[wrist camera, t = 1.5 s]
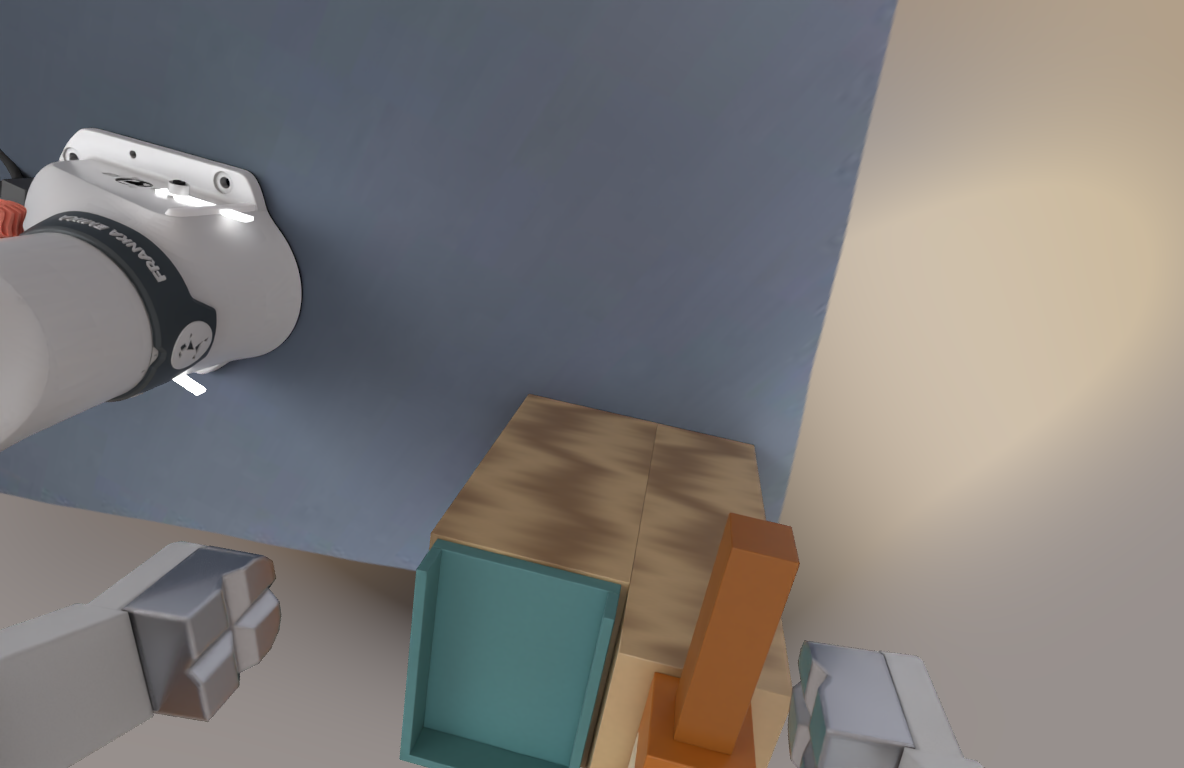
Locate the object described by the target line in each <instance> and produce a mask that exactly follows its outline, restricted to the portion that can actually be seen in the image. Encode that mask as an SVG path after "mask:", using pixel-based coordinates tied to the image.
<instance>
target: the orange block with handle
mask: <svg viewBox="0 0 1184 768" xmlns="http://www.w3.org/2000/svg"><path fill="white" fill-rule="evenodd" d="M799 564H800V563H799V559H798V554H797V549H796V546H795V540H794V536H793V531H792V527H790V526H786V525H782V524H778V523H774V522H770V521H765V520H761V519H757V518H753V517H749V516H744V515H740V514H736V513H732V512H730V513H729V516H728V519H727V523H726V526H725V529H724V533H723V536H722V539H721V543H720V546H719V550H718V553H717V556H716V560H715V563H714V566H713V570H712V573H711V577H710V580H709V583H708V587H707V590H706V593H705V597H704V600H703V604H702V607H701V610H700V614H699V617H698V620H697V624H696V627H695V630H694V634H693V637H692V641H691V644H690V647H689V651H688V654H687V657H686V661H685V664H684V668H683V671H682V674H681V678H677V677H673V676H670V675H666V674H662V673H658V672H655V673H654V676H653V680H652V683H651V687H650V690H649V694H648V698H647V701H646V705H645V709H644V712H643V716H642V719H641V723H640V727H639V730H638V733H637V736H636V740H635V744H634V747H633V751H632V755H631V758H630V762H629V765H628V768H756V758H755V745H754V733H753V720H752V708H751V699H752V697H753V694H754V691H755V688H756V685H757V683H758V680H759V677H760V674H761V671H762V669H763V666H764V663H765V660H766V657H767V655H768V652H769V649H770V646H771V643H772V641H773V638H774V635H775V632H776V629H777V627H778V624H779V621H780V618H781V615H782V612H783V610H784V607H785V604H786V601H787V599H788V596H789V593H790V590H791V587H792V585H793V582H794V579H795V576H796V573H797V571H798V568H799Z"/></svg>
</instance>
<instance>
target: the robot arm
mask: <svg viewBox="0 0 1184 768" xmlns="http://www.w3.org/2000/svg"><path fill="white" fill-rule="evenodd" d="M77 156H78V158H79V160H78V159H77ZM0 159H1V160H2V162H3V163H4V165H5V166H6V167H7V169H8V171H9V173H10V175H11V178H12V179H2V181H0V198H1V199H0V452H1V451H3V450H5V449H6V448H8V447H10V446H12V445H13V444H15V443H17V442H19V441H21V440H23V439H25V438H26V437H29V436H31V435H33V434H35V433H37V432H39V431H42V430H44V429H46V428H48V427H50V426H53V425H55V424H57V423H59V422H61V421H64V420H66V419H68V418H70V417H72V416H74V415H77V414H79V413H81V412H83V411H86V410H88V409H90V408H92V407H94V406H97V405H99V404H101V403H103V402H115V401H121V400H125V399H128V398H131V397H134V396H137V395H140V394H143V392H146V391H148V390H150V389H153V388H155V387H157V386H160V385H162V384H164V383H167V382H169V381H170V380H172V379H173V380H174V381H176V382H177V383H179V384H180V385H182V386H183V387H185V388H186V389H188V390H189V391H191V392H192V393H194V394H195V395H199V394H201V393H203V392H205V391H206V388H204V387H203V386H201V385H200V384H198V383H197V382H195V381H194V380H192V379H191V378H189V377H188V376H186V374H190V373H193V372H196V373H198V374H206V373H209V372H212V371H215V370H217V369H219V368H221V367H222V366H224V365H225V364H227V363H228V362H230V361H234V360H239V359H245V358H252V357H257V356H261V355H263V354H266V353H268V352H270V351H272V350H274V349H275V348H277V347H278V346H279V345H281V344H282V343H283V342H284V341H285V340H286V339H287V337H288V336H289V335H290V333H291V332H292V330H293V328H294V326H295V324H296V322H297V319H298V316H299V312H300V307H301V280H300V275H299V270H298V267H297V263H296V260H295V258H294V255H293V253H292V251H291V249H290V247H289V245H288V243H287V241H286V239H285V238H284V236H283V235H282V233H281V232H280V230H279V229H278V227H277V226H276V225H275V223H274V222H273V220H272V219H271V217H270V215H269V213H268V211H267V208H266V205H265V201H264V198H263V194H262V191H261V188H260V186H259V184H258V182H257V180H256V178H255V177H254V176H253V174H251V173H250V172H248V171H246V170H244V169H240V168H237V167H233V166H230V165H226V164H223V163H219V162H216V161H212V160H208V159H205V158H201V157H198V156H194V155H191V154H187V153H183V152H180V151H176V150H173V149H169V148H166V147H162V146H158V145H155V144H151V143H148V142H144V141H141V140H137V139H133V138H130V137H126V136H123V135H119V134H116V133H112V132H108V131H105V130H101V129H97V128H85V129H81V130H79V131H78V132H77V133H76V134H75V135H74V136H73V137H72V138H71V139H70V140H69V142H68V143H67V145H66V146H65V148H64V150H63V152H62V154H61V156H60V159H59V162H54V163H51V164H49V165H47V166H45V167H44V168H43V169H41V170H40V171H39V173H38V174H37V175H36V176H35V178H23V177H22V174H21V172H20V170H19V169H18V167H17V166H16V165H15V164H14V163H13V162H12V161H11V160H10V159H9V158H8V157H7V156H6V155H5V154H4V153H3V152H2V151H1V149H0ZM227 178H228V179H229V181H230V186H228V185H227V183H226V179H227ZM275 579H276V575H275V570H274V565H273V561H272V560H271V559H269V558H267V557H266V556H263V555H258V554H253V553H247V552H241V551H236V550H230V549H226V548H220V547H214V546H205V545H201V544H194V543H189V542H183V541H180V542H175V543H170V544H168V545H167V546H166V547H164V548H163V549H162V550H160V551H159V552H158V553H156V554H155V555H153V556H152V557H151V558H149V559H148V560H147V561H145V562H144V563H143V564H141V565H140V566H139V567H137V568H136V569H134V570H133V571H132V572H130V573H129V574H128V575H126V576H125V577H124V578H122V579H121V580H119V581H118V582H117V583H116V584H114V585H113V586H111V587H110V588H109V589H107V590H106V591H104V592H103V593H102V594H100V595H99V596H98V597H96V598H95V599H94V600H92V601H91V602H89V603H88V604H87V605H86V604H80V603H76V604H73V605H71V606H68V607H65V608H62V609H59V610H56V611H53V612H50V613H47V614H44V615H42V616H39V617H36V618H33V619H30V620H27V621H24V622H21V623H19V624H16V625H13V626H10V627H7V628H4V629H1V630H0V768H68V767H70V766H72V765H73V764H75V763H77V762H78V761H80V760H82V759H83V758H85V757H86V756H88V755H90V754H92V753H93V752H95V751H97V750H98V749H100V748H102V747H103V746H105V745H107V744H108V743H110V742H112V741H113V740H115V739H117V738H118V737H120V736H122V735H123V734H125V733H127V732H128V731H130V730H132V729H133V728H135V727H137V726H138V725H140V724H142V723H143V722H145V721H147V720H148V719H150V718H152V717H153V716H154V714H153V713H156V714H162V715H168V716H174V717H181V718H187V719H193V720H199V721H205V722H208V721H209V720H210V719H211V718H212V717H213V716H214V715H215V713H216V712H217V711H218V710H219V709H220V708H221V706H222V705H223V704H224V703H225V702H226V701H227V699H228V698H229V697H230V696H231V695H232V694H233V693H234V691H235V690H236V689H237V688H238V687H239V680H240V673H241V672H243V671H245V670H247V669H249V668H251V667H253V666H255V665H257V664H259V663H260V662H261V660H262V659H263V658H264V657H265V655H266V654H267V653H268V652H269V650H270V649H271V648H272V645H273V643H274V641H275V639H276V636H277V634H278V632H279V628H280V621H281V609H280V602H279V601H278V599H277V598H276V597H275V596H274V594H273V593H272V592H271V590H270V589H269V587H270V586H271V585H272V583H273V582H274V581H275ZM798 666H799V673H800V679H801V681H800V682H799V683H798V684H796V685H795V686H794V687H793V688H792V694H791V699H790V705H789V718H788V740H789V750H790V759H791V761H792V762H793V763H794V765H795V766H796V767H797V768H985V767H983V766H982V765H981V764H980V763H979V762H978V761H976V760H972V759H967V758H964V756H963V754H962V751H961V749H960V747H959V744H958V742H957V740H956V737H955V735H954V732H953V730H952V728H951V725H950V723H949V721H948V718H947V716H946V714H945V711H944V709H943V706H942V704H941V702H940V699H939V697H938V695H937V692H936V690H935V688H934V685H933V683H932V681H931V678H930V676H929V674H928V671H927V669H926V667H925V664H924V662H923V661H922V660H921V659H920V658H919V657H918V656H915V655H907V654H901V653H893V652H885V651H879V652H877V651H872V650H866V649H859V648H852V647H845V646H839V645H832V644H825V643H819V642H812V641H806V640H805V641H804V643H803V645H802V647H801V651H800V655H799V660H798Z"/></svg>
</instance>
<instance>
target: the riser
mask: <svg viewBox="0 0 1184 768" xmlns="http://www.w3.org/2000/svg"><path fill="white" fill-rule="evenodd" d="M730 512H732V513H736V514H740V515H744V516H749V517H753V518H757V519H761V520H765V521H766V518H765V511H764V505H763V499H762V492H761V486H760V480H759V473H758V467H757V461H756V454H755V448H754V445H751V444H746V443H742V442H738V441H733V440H729V439H724V438H720V437H716V436H711V435H707V434H703V433H698V432H694V431H689V430H685V429H681V428H676V427H672V426H667V425H663V424H659V423H658V424H657V423H655V422H650V421H646V420H641V419H637V418H633V417H628V416H624V415H619V414H615V413H611V412H606V411H602V410H598V409H593V408H589V407H584V406H580V405H576V404H571V403H567V402H562V401H558V400H554V399H549V398H545V397H541V396H536V395H532V394H528V396H527V397H526V398H525V400H524V401H523V403H522V404H521V406H520V407H519V408H518V410H517V411H516V413H515V414H514V416H513V417H512V418H511V420H510V421H509V423H508V424H507V426H506V427H505V428H504V430H503V431H502V433H501V434H500V435H499V437H498V438H497V440H496V441H495V443H494V444H493V445H492V447H491V448H490V450H489V451H488V453H487V454H486V455H485V457H484V458H483V460H482V461H481V463H480V464H479V465H478V467H477V468H476V470H475V471H474V473H473V474H472V475H471V477H470V478H469V480H468V481H467V482H466V484H465V485H464V487H463V488H462V490H461V491H460V492H459V494H458V495H457V497H456V498H455V500H454V501H453V502H452V504H451V505H450V507H449V508H448V510H447V511H446V512H445V514H444V515H443V517H442V518H441V520H440V521H439V522H438V524H437V525H436V527H435V528H434V529H433V531H432V532H431V537H430V547H429V550H430V549H431V548H432V546H433V544H434V543H435V541H436V540H437V539H441V540H445V541H449V542H453V543H457V544H461V545H465V546H469V547H473V548H477V549H481V550H485V551H489V552H493V553H497V554H501V555H505V556H509V557H513V558H517V559H521V560H525V561H529V562H533V563H537V564H541V565H545V566H549V567H553V568H557V569H561V570H564V571H568V572H572V573H576V574H580V575H584V576H588V577H592V578H596V579H600V580H604V581H608V582H612V583H616V584H620V585H621V591H620V596H619V601H618V607H617V612H616V617H615V622H614V626H613V631H612V635H611V639H610V643H609V647H608V652H607V656H606V660H605V664H604V669H603V673H602V677H601V681H600V686H599V690H598V694H597V698H596V702H595V707H594V711H593V715H592V719H591V724H590V728H589V732H588V736H587V740H586V745H585V749H584V753H583V757H582V762H581V766H580V767H582V768H585V767H586V768H628V765H629V762H630V758H631V755H632V751H633V747H634V744H635V740H636V736H637V733H638V730H639V727H640V723H641V719H642V716H643V712H644V709H645V705H646V701H647V698H648V694H649V690H650V687H651V683H652V680H653V676H654V673H655V672H658V673H662V674H666V675H670V676H673V677H677V678H681V674H682V671H683V668H684V664H685V661H686V657H687V654H688V651H689V647H690V644H691V641H692V637H693V634H694V630H695V627H696V624H697V620H698V617H699V614H700V610H701V607H702V604H703V600H704V597H705V593H706V590H707V587H708V583H709V580H710V577H711V573H712V570H713V566H714V563H715V560H716V556H717V553H718V550H719V546H720V543H721V539H722V536H723V533H724V529H725V526H726V523H727V519H728V516H729V513H730ZM791 694H792V683H791V676H790V670H789V664H788V657H787V651H786V645H785V639H784V632H783V625H782V619H781V618H780V621H779V624H778V627H777V629H776V632H775V635H774V638H773V641H772V643H771V646H770V649H769V652H768V655H767V657H766V660H765V663H764V666H763V669H762V671H761V674H760V677H759V680H758V683H757V685H756V688H755V691H754V694H753V697H752V699H751V708H752V720H753V733H754V745H755V758H756V768H767V766H768V764H769V761H770V759H771V756H772V754H773V751H774V748H775V746H776V743H777V741H778V738H779V736H780V733H781V730H782V728H783V725H784V723H785V720H786V717H787V715H788V712H789V705H790V699H791Z"/></svg>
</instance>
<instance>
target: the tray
mask: <svg viewBox="0 0 1184 768" xmlns="http://www.w3.org/2000/svg"><path fill="white" fill-rule="evenodd" d="M620 591H621V585H620V584H616V583H612V582H608V581H604V580H600V579H596V578H592V577H588V576H584V575H580V574H576V573H572V572H568V571H564V570H561V569H557V568H553V567H549V566H545V565H541V564H537V563H533V562H529V561H525V560H521V559H517V558H513V557H509V556H505V555H501V554H497V553H493V552H489V551H485V550H481V549H477V548H473V547H469V546H465V545H461V544H457V543H453V542H449V541H445V540H441V539H437V540H436V541H435V543H434V544H433V546H432V548H431V549H430V550H429V552H428V553H427V555H426V556H425V558H424V559H423V561H422V562H421V564H420V565H419V567H418V568H417V570H416V580H415V591H414V603H413V614H412V626H411V636H410V648H409V659H408V671H407V683H406V693H405V704H404V715H403V727H402V738H401V750H400V760H404V761H407V762H410V763H414V764H417V765H421V766H424V767H428V768H580V766H581V762H582V757H583V753H584V749H585V745H586V740H587V736H588V732H589V728H590V724H591V719H592V715H593V711H594V707H595V702H596V698H597V694H598V690H599V686H600V681H601V677H602V673H603V669H604V664H605V660H606V656H607V652H608V647H609V643H610V639H611V635H612V631H613V626H614V622H615V617H616V612H617V607H618V601H619V596H620Z"/></svg>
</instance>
